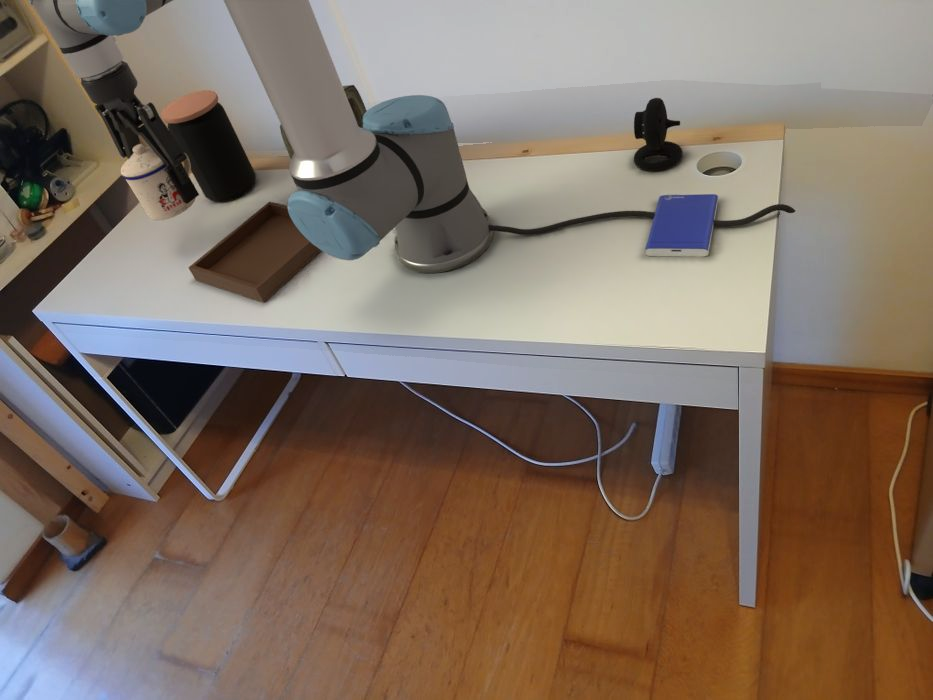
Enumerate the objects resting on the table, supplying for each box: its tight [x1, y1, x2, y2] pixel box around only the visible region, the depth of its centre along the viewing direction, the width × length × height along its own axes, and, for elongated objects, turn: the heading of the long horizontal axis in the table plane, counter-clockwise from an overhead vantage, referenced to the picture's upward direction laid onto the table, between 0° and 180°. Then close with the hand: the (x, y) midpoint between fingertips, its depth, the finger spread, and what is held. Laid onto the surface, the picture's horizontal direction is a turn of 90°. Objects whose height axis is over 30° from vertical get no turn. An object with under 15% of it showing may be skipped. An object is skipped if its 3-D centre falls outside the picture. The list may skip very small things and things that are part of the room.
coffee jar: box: [160, 89, 256, 203], centre depth 143 cm, size 11×11×18 cm
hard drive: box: [645, 193, 719, 258], centre depth 106 cm, size 2×8×12 cm
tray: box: [188, 201, 323, 304], centre depth 127 cm, size 18×20×3 cm
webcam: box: [633, 97, 683, 172], centre depth 117 cm, size 8×8×10 cm
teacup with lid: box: [120, 143, 196, 221], centre depth 128 cm, size 12×9×12 cm
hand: (175, 195), depth 131 cm, fingers closed on teacup with lid, 9 cm apart
